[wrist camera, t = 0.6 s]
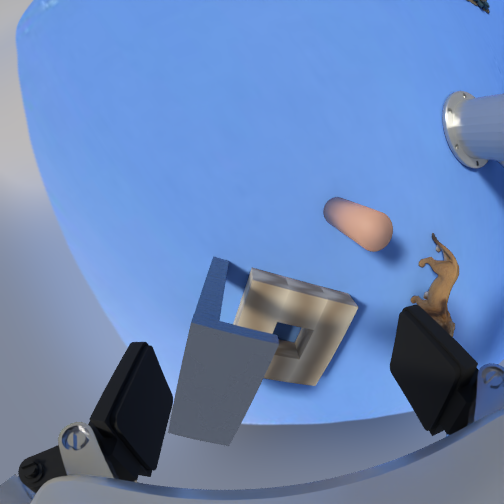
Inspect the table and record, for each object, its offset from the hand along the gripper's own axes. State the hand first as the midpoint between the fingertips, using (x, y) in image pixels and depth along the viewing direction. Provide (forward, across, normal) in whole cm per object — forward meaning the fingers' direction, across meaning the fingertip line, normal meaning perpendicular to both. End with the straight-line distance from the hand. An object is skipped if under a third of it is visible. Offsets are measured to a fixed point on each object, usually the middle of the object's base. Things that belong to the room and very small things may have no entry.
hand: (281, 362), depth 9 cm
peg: (+25, -10, 0) cm, 27 cm away
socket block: (+25, -2, +15) cm, 29 cm away
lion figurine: (+25, -26, +12) cm, 38 cm away
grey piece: (+25, +6, +11) cm, 28 cm away
